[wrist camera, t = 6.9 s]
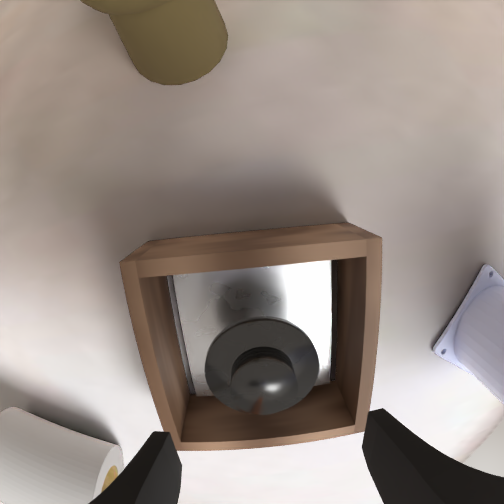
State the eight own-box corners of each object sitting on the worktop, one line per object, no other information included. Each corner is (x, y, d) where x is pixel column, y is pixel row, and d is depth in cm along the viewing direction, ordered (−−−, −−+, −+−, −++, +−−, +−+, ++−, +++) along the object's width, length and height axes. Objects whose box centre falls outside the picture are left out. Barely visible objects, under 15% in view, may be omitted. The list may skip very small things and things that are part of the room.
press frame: (348, 222, 19) (381, 237, 14) (344, 386, 22) (365, 430, 17) (148, 241, 19) (119, 262, 14) (181, 402, 21) (170, 450, 17)
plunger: (327, 250, 19) (367, 285, 12) (327, 376, 21) (353, 440, 15) (174, 264, 19) (144, 307, 12) (197, 389, 21) (185, 457, 14)
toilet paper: (120, 422, 22) (82, 515, 12) (126, 484, 24) (104, 560, 14) (21, 386, 21) (-36, 454, 11) (41, 454, 23) (5, 516, 14)
